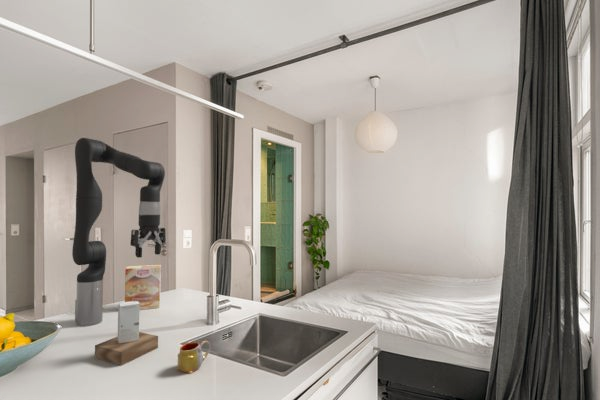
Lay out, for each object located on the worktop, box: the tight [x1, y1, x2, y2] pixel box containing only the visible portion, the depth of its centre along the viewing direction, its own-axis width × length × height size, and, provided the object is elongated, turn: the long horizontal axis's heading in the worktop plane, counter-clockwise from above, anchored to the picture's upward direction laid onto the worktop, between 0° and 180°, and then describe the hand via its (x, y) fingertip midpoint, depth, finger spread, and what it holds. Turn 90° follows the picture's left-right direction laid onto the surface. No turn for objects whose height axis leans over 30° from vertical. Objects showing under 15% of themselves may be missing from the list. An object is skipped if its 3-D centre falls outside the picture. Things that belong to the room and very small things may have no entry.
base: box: [94, 331, 159, 366], centre depth 111 cm, size 12×14×4 cm
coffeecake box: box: [124, 264, 162, 311], centre depth 161 cm, size 15×7×20 cm, turn 111°
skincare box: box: [116, 301, 141, 344], centre depth 112 cm, size 6×4×12 cm
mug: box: [176, 340, 212, 375], centre depth 103 cm, size 12×7×7 cm, turn 149°
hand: (148, 255), depth 130 cm, fingers open, 8 cm apart
